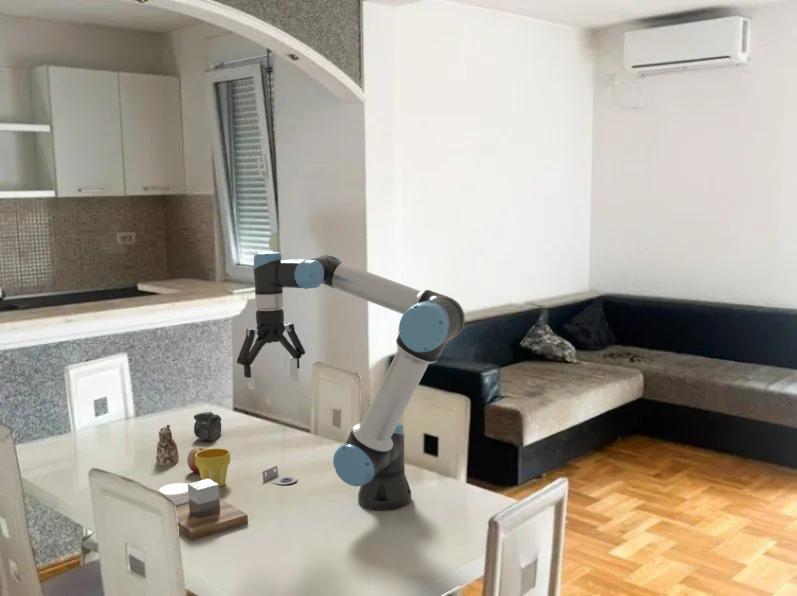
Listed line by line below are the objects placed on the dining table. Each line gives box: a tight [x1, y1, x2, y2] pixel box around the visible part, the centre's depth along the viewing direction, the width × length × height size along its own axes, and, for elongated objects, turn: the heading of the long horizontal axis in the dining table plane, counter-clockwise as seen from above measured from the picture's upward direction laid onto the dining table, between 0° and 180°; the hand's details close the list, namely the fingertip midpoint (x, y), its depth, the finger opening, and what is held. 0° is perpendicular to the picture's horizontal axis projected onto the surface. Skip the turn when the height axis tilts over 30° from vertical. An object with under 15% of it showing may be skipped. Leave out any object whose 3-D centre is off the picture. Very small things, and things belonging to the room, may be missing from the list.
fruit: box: [186, 446, 209, 474], centre depth 256 cm, size 8×8×8 cm
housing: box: [187, 479, 220, 519], centre depth 216 cm, size 6×6×8 cm
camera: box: [193, 411, 222, 443], centre depth 292 cm, size 13×10×10 cm
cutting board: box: [175, 497, 249, 542], centre depth 217 cm, size 18×16×2 cm
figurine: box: [155, 424, 180, 466], centre depth 267 cm, size 7×7×12 cm
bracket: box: [261, 465, 298, 486], centre depth 247 cm, size 7×10×4 cm, turn 57°
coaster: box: [157, 482, 189, 506], centre depth 233 cm, size 10×10×4 cm
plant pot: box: [195, 447, 231, 488], centre depth 245 cm, size 10×10×10 cm
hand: (273, 384), depth 223 cm, fingers open, 13 cm apart
